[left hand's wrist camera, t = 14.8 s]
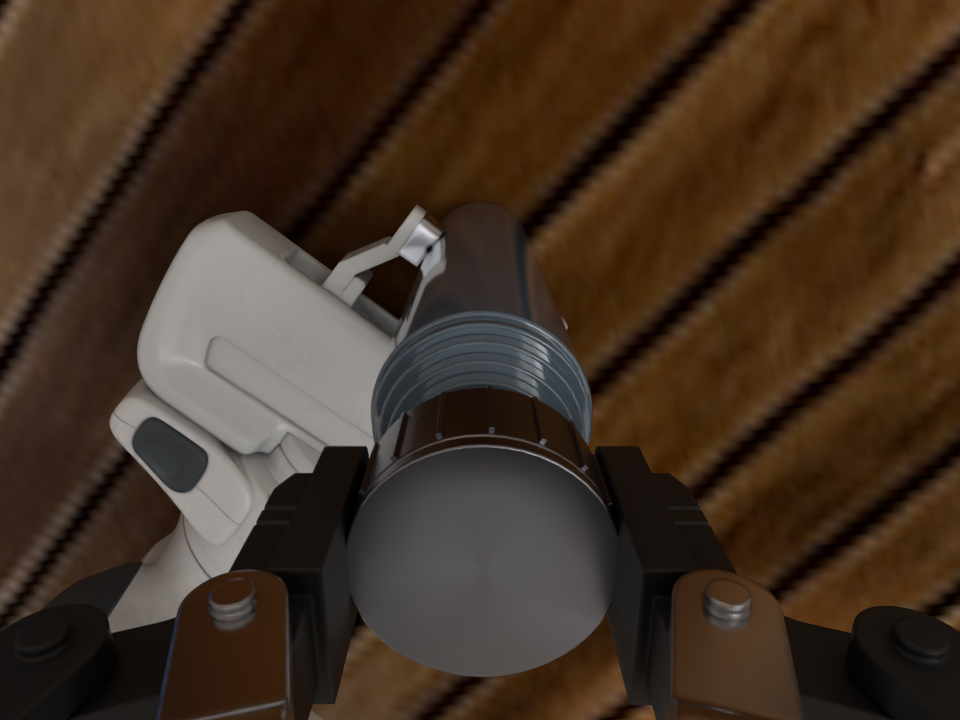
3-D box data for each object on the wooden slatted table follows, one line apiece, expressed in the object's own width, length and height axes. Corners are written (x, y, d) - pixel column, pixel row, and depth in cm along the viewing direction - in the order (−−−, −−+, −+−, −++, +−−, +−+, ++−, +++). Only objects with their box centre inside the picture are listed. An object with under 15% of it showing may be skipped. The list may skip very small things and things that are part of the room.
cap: (485, 332, 11) (486, 382, 9) (651, 495, 12) (685, 571, 10) (314, 490, 12) (281, 566, 10) (481, 627, 13) (481, 721, 11)
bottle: (516, 189, 32) (608, 367, 9) (540, 287, 34) (669, 640, 11) (417, 217, 33) (273, 451, 10) (445, 312, 35) (380, 703, 12)
